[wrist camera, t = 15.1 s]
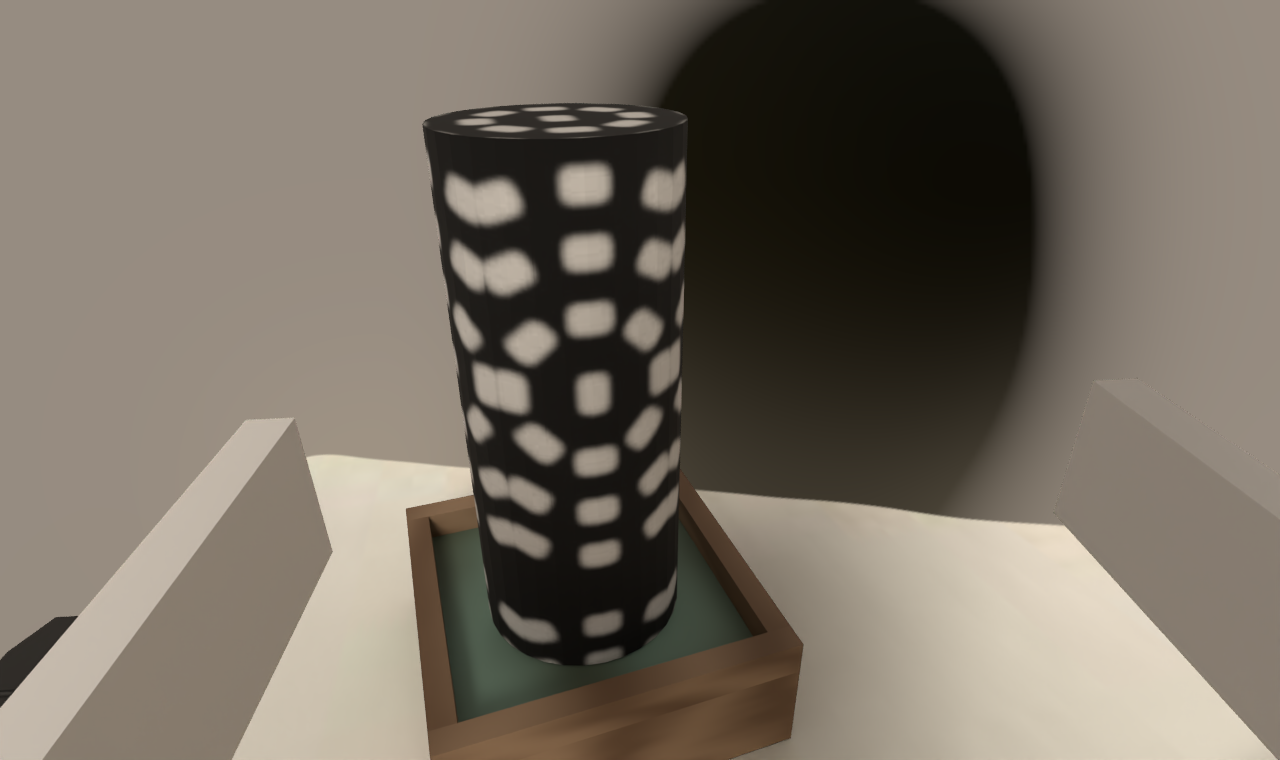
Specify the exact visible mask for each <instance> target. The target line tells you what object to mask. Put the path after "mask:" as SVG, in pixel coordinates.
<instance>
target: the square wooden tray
mask: <svg viewBox="0 0 1280 760" xmlns="http://www.w3.org/2000/svg"><path fill="white" fill-rule="evenodd" d="M406 516H407V526H408V536H409V546H410V557H411V567H412V577H413V587H414V598H415V608H416V618H417V628H418V639H419V649H420V659H421V669H422V680H423V690H424V700H425V710H426V721H427V731H428V741H429V751H430V759H431V760H728V759H731V758H734V757H737V756H740V755H743V754H745V753H748V752H751V751H754V750H757V749H760V748H763V747H766V746H769V745H772V744H775V743H777V742H780V741H783V740H786V739H789V738H791V731H792V724H793V717H794V709H795V702H796V695H797V688H798V680H799V673H800V666H801V658H802V651H803V643H802V642H801V640H800V639H799V637H798V636H797V635H796V633H795V632H794V630H793V629H792V627H791V626H790V625H789V623H788V622H787V620H786V619H785V617H784V616H783V615H782V613H781V612H780V610H779V609H778V608H777V606H776V605H775V603H774V602H773V600H772V599H771V598H770V596H769V595H768V593H767V592H766V590H765V589H764V588H763V586H762V585H761V583H760V582H759V580H758V579H757V578H756V576H755V575H754V573H753V572H752V570H751V569H750V568H749V566H748V565H747V563H746V562H745V561H744V559H743V558H742V556H741V555H740V553H739V552H738V551H737V549H736V548H735V546H734V545H733V543H732V542H731V541H730V539H729V538H728V536H727V535H726V533H725V532H724V531H723V529H722V528H721V526H720V525H719V523H718V522H717V521H716V519H715V518H714V516H713V515H712V514H711V512H710V511H709V509H708V508H707V506H706V505H705V504H704V502H703V501H702V499H701V498H700V496H699V495H698V494H697V492H696V491H695V489H694V488H693V486H692V485H691V484H690V482H689V481H688V479H687V478H686V477H685V475H684V474H683V472H682V471H681V470H680V479H679V524H678V568H677V599H676V603H675V608H674V612H673V613H672V615H671V617H670V619H669V621H668V623H667V625H666V626H665V627H664V628H663V629H662V630H661V632H660V633H659V634H658V635H657V636H656V637H655V638H654V639H652V640H651V641H650V642H649V643H647V644H646V645H645V646H643V647H642V648H640V649H638V650H636V651H634V652H632V653H630V654H628V655H626V656H624V657H621V658H618V659H615V660H612V661H609V662H605V663H599V664H592V665H585V666H574V665H559V664H554V663H548V662H543V661H541V660H538V659H535V658H533V657H530V656H527V655H525V654H524V653H522V652H521V651H519V650H517V649H516V648H514V647H512V646H511V645H510V644H509V643H508V642H507V641H506V640H505V639H504V638H503V637H502V636H501V635H500V633H499V631H498V630H497V628H496V626H495V625H494V623H493V620H492V616H491V613H490V609H489V602H488V594H487V587H486V580H485V573H484V566H483V558H482V551H481V544H480V537H479V529H478V522H477V515H476V508H475V500H474V495H471V496H466V497H461V498H456V499H451V500H446V501H442V502H437V503H432V504H427V505H422V506H417V507H412V508H407V509H406Z"/></svg>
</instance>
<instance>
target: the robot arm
mask: <svg viewBox="0 0 1280 760" xmlns="http://www.w3.org/2000/svg"><path fill="white" fill-rule="evenodd" d="M1054 514H1055V515H1056V516H1057V517H1058V518H1059V520H1060V521H1061V522H1062V523H1063V524H1064V525H1065V526H1066V527H1067V528H1068V529H1069V531H1070V532H1071V533H1072V534H1073V535H1074V536H1075V537H1076V538H1077V539H1078V540H1079V542H1080V543H1081V544H1082V545H1083V546H1084V547H1085V548H1086V549H1087V550H1088V551H1089V553H1090V554H1091V555H1092V556H1093V557H1094V558H1095V559H1096V560H1097V561H1098V562H1099V564H1100V565H1101V566H1102V567H1103V568H1104V569H1105V570H1106V571H1107V572H1108V573H1109V575H1110V576H1111V577H1112V578H1113V579H1114V580H1115V581H1116V582H1117V583H1118V584H1119V586H1120V587H1121V588H1122V589H1123V590H1124V591H1125V592H1126V593H1127V594H1128V595H1129V597H1130V598H1131V599H1132V600H1133V601H1134V602H1135V603H1136V604H1137V605H1138V606H1139V608H1140V609H1141V610H1142V611H1143V612H1144V613H1145V614H1146V615H1147V616H1148V617H1149V619H1150V620H1151V621H1152V622H1153V623H1154V624H1155V625H1156V626H1157V627H1158V628H1159V630H1160V631H1161V632H1162V633H1163V634H1164V635H1165V636H1166V637H1167V638H1168V639H1169V641H1170V642H1171V643H1172V644H1173V645H1174V646H1175V647H1176V648H1177V649H1178V650H1179V652H1180V653H1181V654H1182V655H1183V656H1184V657H1185V658H1186V659H1187V660H1188V661H1189V663H1190V664H1191V665H1192V666H1193V667H1194V668H1195V669H1196V670H1197V671H1198V672H1199V674H1200V675H1201V676H1202V677H1203V678H1204V679H1205V680H1206V681H1207V682H1208V683H1209V685H1210V686H1211V687H1212V688H1213V689H1214V690H1215V691H1216V692H1217V693H1218V694H1219V696H1220V697H1221V698H1222V699H1223V700H1224V701H1225V702H1226V703H1227V704H1228V705H1229V707H1230V708H1231V709H1232V710H1233V711H1234V712H1235V713H1236V714H1237V715H1238V716H1239V718H1240V719H1241V720H1242V721H1243V722H1244V723H1245V724H1246V725H1247V726H1248V727H1249V729H1250V730H1251V731H1252V732H1253V733H1254V734H1255V735H1256V736H1257V737H1258V738H1259V740H1260V741H1261V742H1262V743H1263V744H1264V745H1265V746H1266V747H1267V748H1268V749H1269V751H1270V752H1271V753H1272V754H1273V755H1274V756H1275V757H1276V758H1277V759H1278V760H1280V475H1279V474H1278V473H1276V472H1275V471H1273V470H1272V469H1271V468H1269V467H1268V466H1266V465H1265V464H1263V463H1262V462H1260V461H1259V460H1257V459H1256V458H1254V457H1253V456H1251V455H1250V454H1248V453H1247V452H1245V451H1244V450H1242V449H1241V448H1240V447H1238V446H1237V445H1235V444H1234V443H1232V442H1231V441H1229V440H1228V439H1226V438H1225V437H1223V436H1222V435H1220V434H1219V433H1217V432H1216V431H1215V430H1213V429H1212V428H1210V427H1208V426H1207V425H1206V424H1204V423H1203V422H1201V421H1200V420H1198V419H1197V418H1196V417H1194V416H1193V415H1191V414H1190V413H1188V412H1187V411H1185V410H1184V409H1182V408H1181V407H1179V406H1178V405H1176V404H1175V403H1173V402H1172V401H1171V400H1169V399H1168V398H1166V397H1165V396H1163V395H1161V394H1160V393H1159V392H1157V391H1156V390H1154V389H1153V388H1151V387H1150V386H1148V385H1147V384H1145V383H1144V382H1142V381H1141V380H1139V379H1138V378H1134V379H1114V380H1113V379H1112V380H1093V384H1092V387H1091V390H1090V393H1089V397H1088V400H1087V403H1086V406H1085V410H1084V413H1083V416H1082V420H1081V423H1080V426H1079V430H1078V433H1077V436H1076V440H1075V443H1074V446H1073V449H1072V453H1071V457H1070V459H1069V463H1068V466H1067V469H1066V473H1065V476H1064V479H1063V483H1062V486H1061V489H1060V493H1059V496H1058V499H1057V503H1056V506H1055V509H1054ZM332 552H333V551H332V548H331V544H330V541H329V537H328V534H327V530H326V527H325V523H324V520H323V516H322V513H321V509H320V506H319V502H318V498H317V495H316V491H315V488H314V484H313V481H312V477H311V474H310V470H309V467H308V463H307V460H306V456H305V453H304V449H303V446H302V442H301V438H300V435H299V431H298V428H297V425H296V421H295V418H279V419H259V420H246V421H245V422H244V423H243V424H242V425H241V426H240V428H239V429H238V430H237V431H236V432H235V434H234V435H233V436H232V437H231V438H230V439H229V440H228V442H227V443H226V444H225V445H224V446H223V448H222V449H221V450H220V451H219V452H218V453H217V455H216V456H215V457H214V458H213V459H212V460H211V462H210V463H209V464H208V465H207V466H206V468H205V469H204V470H203V471H202V472H201V473H200V475H199V476H198V477H197V478H196V479H195V480H194V482H193V483H192V484H191V485H190V486H189V487H188V489H187V490H186V491H185V492H184V493H183V494H182V496H181V497H180V498H179V499H178V500H177V501H176V503H175V504H174V505H173V506H172V507H171V508H170V510H169V511H168V512H167V513H166V514H165V516H164V517H163V518H162V519H161V520H160V521H159V523H158V524H157V525H156V526H155V527H154V528H153V530H152V531H151V532H150V533H149V534H148V535H147V537H146V538H145V539H144V540H143V541H142V543H141V544H140V545H139V546H138V547H137V548H136V549H135V551H134V552H133V553H132V554H131V556H130V557H129V558H128V559H127V560H126V561H125V562H124V564H123V565H122V566H121V567H120V568H119V569H118V571H117V572H116V573H115V574H114V575H113V576H112V578H111V579H110V580H109V581H108V582H107V584H106V585H105V586H104V587H103V588H102V590H101V591H100V592H99V593H98V594H97V595H96V596H95V598H94V599H93V600H92V601H91V602H90V603H89V605H88V606H87V607H86V608H85V609H84V610H83V612H82V613H81V614H80V615H79V616H71V617H56V618H54V619H53V620H51V621H50V622H49V623H47V624H46V625H44V626H43V627H42V628H40V629H39V630H38V631H36V632H35V633H33V634H32V635H31V636H29V637H28V638H26V639H25V640H24V641H22V642H21V643H19V644H18V645H17V646H15V647H14V648H12V649H11V650H10V651H8V652H7V653H6V654H5V656H4V657H2V659H1V660H0V760H232V758H233V756H234V754H235V751H236V749H237V747H238V745H239V743H240V741H241V739H242V737H243V735H244V733H245V731H246V729H247V727H248V725H249V723H250V721H251V719H252V717H253V714H254V712H255V710H256V708H257V706H258V704H259V702H260V700H261V698H262V696H263V694H264V692H265V690H266V688H267V686H268V684H269V682H270V679H271V677H272V675H273V673H274V671H275V669H276V667H277V665H278V663H279V661H280V659H281V657H282V655H283V653H284V651H285V649H286V647H287V644H288V642H289V640H290V638H291V636H292V634H293V632H294V630H295V628H296V626H297V624H298V622H299V620H300V618H301V616H302V614H303V612H304V609H305V607H306V605H307V603H308V601H309V599H310V597H311V595H312V593H313V591H314V589H315V587H316V585H317V583H318V581H319V579H320V577H321V574H322V572H323V570H324V568H325V566H326V564H327V562H328V560H329V558H330V556H331V554H332Z"/></svg>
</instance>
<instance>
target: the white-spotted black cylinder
mask: <svg viewBox="0 0 1280 760" xmlns="http://www.w3.org/2000/svg"><path fill="white" fill-rule="evenodd" d="M687 125H688V119H687V116H686V115H684V114H682V113H679V112H676V111H672V110H667V109H662V108H655V107H645V106H635V105H619V104H591V103H590V104H588V103H563V104H562V103H559V104H529V105H513V106H499V107H488V108H478V109H470V110H463V111H456V112H451V113H446V114H442V115H438V116H434V117H431V118H429V119H427V120H425V121H424V123H423V132H424V139H425V145H426V153H427V161H428V168H429V174H430V182H431V190H432V196H433V204H434V211H435V218H436V226H437V232H438V240H439V247H440V254H441V262H442V269H443V276H444V284H445V291H446V298H447V305H448V312H449V320H450V326H451V334H452V341H453V349H454V356H455V363H456V370H457V378H458V384H459V392H460V399H461V406H462V414H463V421H464V427H465V435H466V443H467V449H468V457H469V464H470V472H471V479H472V486H473V493H474V500H475V508H476V515H477V522H478V529H479V537H480V544H481V551H482V558H483V566H484V573H485V580H486V587H487V594H488V602H489V609H490V613H491V616H492V620H493V623H494V625H495V626H496V628H497V630H498V631H499V633H500V635H501V636H502V637H503V638H504V639H505V640H506V641H507V642H508V643H509V644H510V645H511V646H512V647H514V648H516V649H517V650H519V651H521V652H522V653H524V654H525V655H527V656H530V657H533V658H535V659H538V660H541V661H543V662H548V663H554V664H559V665H574V666H585V665H592V664H599V663H605V662H609V661H612V660H615V659H618V658H621V657H624V656H626V655H628V654H630V653H632V652H634V651H636V650H638V649H640V648H642V647H643V646H645V645H646V644H647V643H649V642H650V641H651V640H652V639H654V638H655V637H656V636H657V635H658V634H659V633H660V632H661V630H662V629H663V628H664V627H665V626H666V625H667V623H668V621H669V619H670V617H671V615H672V613H673V612H674V608H675V603H676V599H677V568H678V524H679V479H680V433H681V432H680V431H681V390H682V347H683V344H682V343H683V342H682V341H683V302H684V256H685V212H686V167H687Z"/></svg>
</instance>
